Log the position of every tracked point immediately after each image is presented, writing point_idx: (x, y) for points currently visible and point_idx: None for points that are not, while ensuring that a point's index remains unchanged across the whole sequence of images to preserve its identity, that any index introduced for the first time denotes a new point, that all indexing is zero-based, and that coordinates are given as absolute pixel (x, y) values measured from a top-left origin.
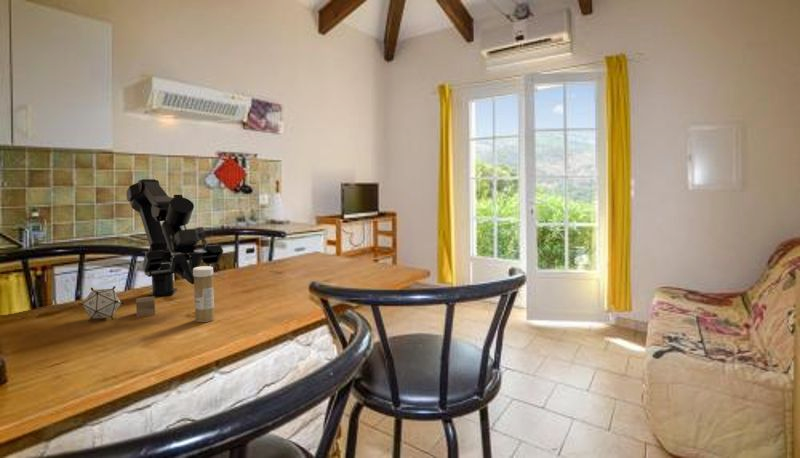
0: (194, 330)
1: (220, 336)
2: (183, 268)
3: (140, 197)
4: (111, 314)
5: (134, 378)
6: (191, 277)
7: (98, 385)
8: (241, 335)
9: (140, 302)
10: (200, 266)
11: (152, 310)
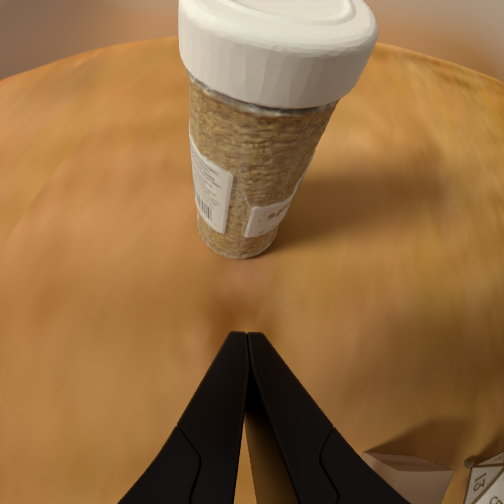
0: None
1: None
2: (366, 467)
3: None
4: (479, 465)
5: (434, 57)
6: (268, 363)
7: (470, 79)
8: None
9: (440, 469)
10: (281, 30)
11: (381, 458)
